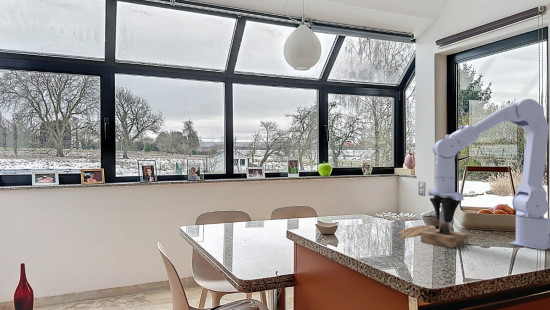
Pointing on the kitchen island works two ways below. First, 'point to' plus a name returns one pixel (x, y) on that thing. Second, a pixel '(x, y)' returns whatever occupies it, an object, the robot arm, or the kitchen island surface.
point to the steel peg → (443, 222)
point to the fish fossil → (415, 231)
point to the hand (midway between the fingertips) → (444, 221)
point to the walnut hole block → (445, 238)
